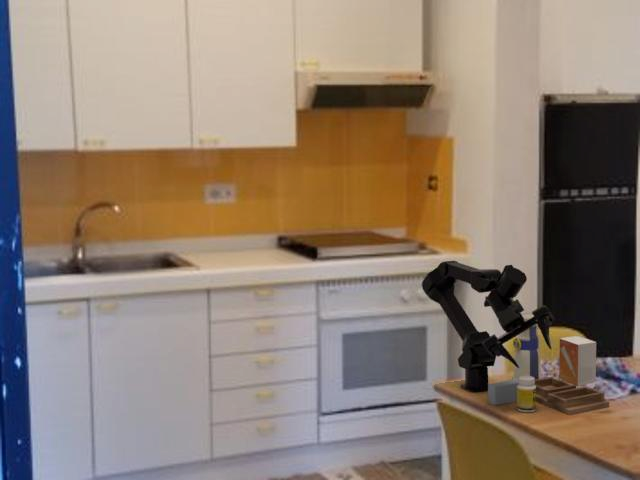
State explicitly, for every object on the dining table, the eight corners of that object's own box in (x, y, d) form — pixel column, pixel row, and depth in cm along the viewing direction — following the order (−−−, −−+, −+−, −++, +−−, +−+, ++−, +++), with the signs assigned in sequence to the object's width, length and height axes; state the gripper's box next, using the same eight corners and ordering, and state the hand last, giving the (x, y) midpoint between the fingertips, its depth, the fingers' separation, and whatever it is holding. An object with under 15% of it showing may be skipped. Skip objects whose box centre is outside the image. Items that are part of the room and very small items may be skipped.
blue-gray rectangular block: (488, 402, 233) (488, 384, 233) (515, 397, 237) (515, 379, 236) (495, 405, 231) (495, 386, 230) (523, 400, 234) (523, 381, 234)
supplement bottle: (536, 413, 223) (536, 380, 222) (517, 412, 224) (517, 380, 223) (535, 407, 228) (535, 375, 227) (516, 406, 229) (516, 374, 228)
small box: (558, 383, 248) (558, 338, 246) (577, 380, 250) (577, 335, 249) (577, 391, 240) (578, 344, 239) (596, 388, 243) (597, 341, 241)
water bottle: (523, 389, 244) (523, 299, 241) (506, 380, 252) (506, 293, 248) (548, 385, 247) (549, 296, 243) (530, 377, 255) (531, 291, 251)
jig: (518, 394, 239) (518, 382, 239) (556, 386, 245) (556, 375, 244) (569, 414, 221) (569, 402, 221) (609, 406, 227) (609, 394, 226)
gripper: (464, 316, 226) (492, 366, 217) (528, 278, 223) (559, 327, 214) (477, 331, 235) (505, 380, 226) (539, 295, 232) (570, 343, 222)
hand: (534, 358), depth 222 cm, fingers open, 9 cm apart
